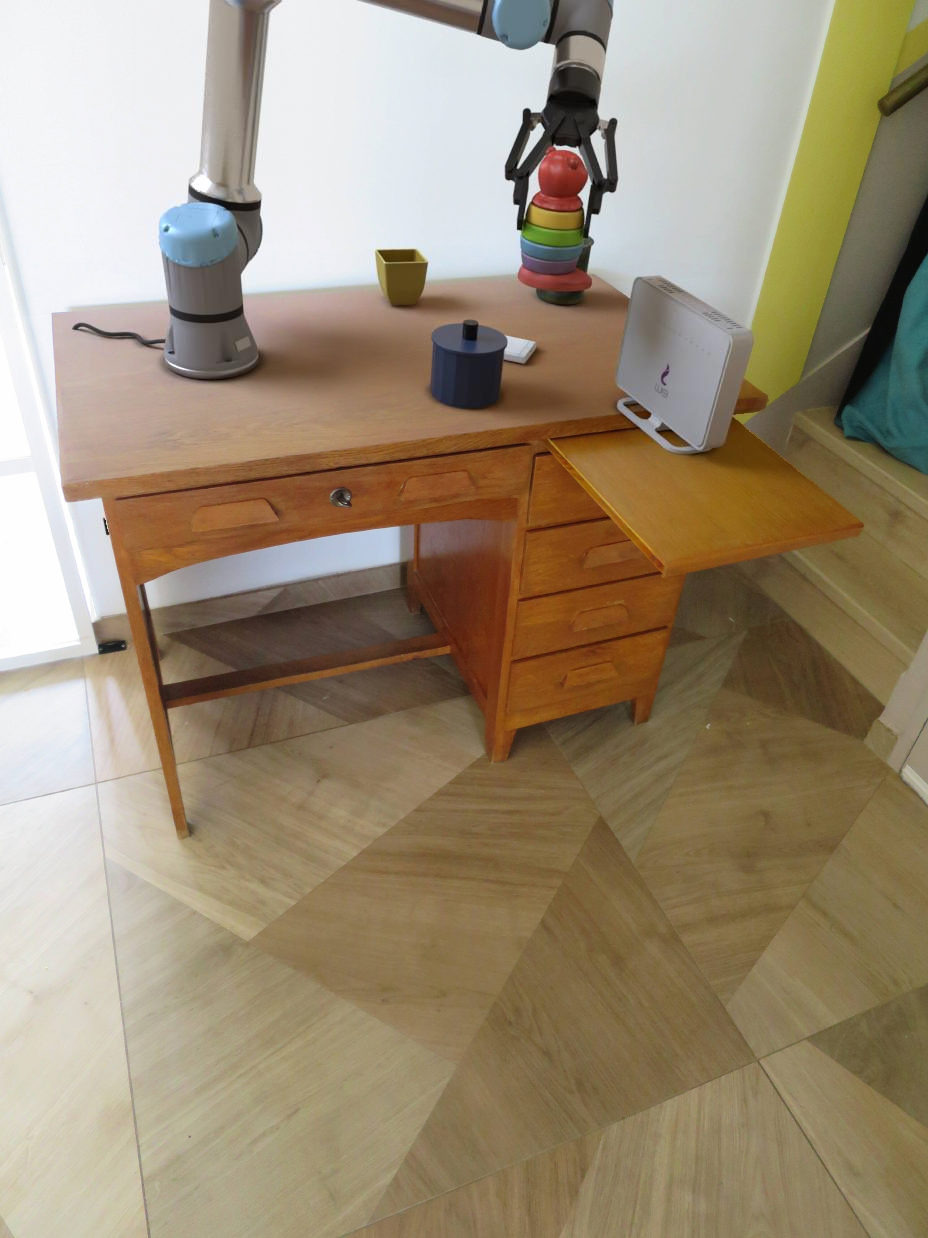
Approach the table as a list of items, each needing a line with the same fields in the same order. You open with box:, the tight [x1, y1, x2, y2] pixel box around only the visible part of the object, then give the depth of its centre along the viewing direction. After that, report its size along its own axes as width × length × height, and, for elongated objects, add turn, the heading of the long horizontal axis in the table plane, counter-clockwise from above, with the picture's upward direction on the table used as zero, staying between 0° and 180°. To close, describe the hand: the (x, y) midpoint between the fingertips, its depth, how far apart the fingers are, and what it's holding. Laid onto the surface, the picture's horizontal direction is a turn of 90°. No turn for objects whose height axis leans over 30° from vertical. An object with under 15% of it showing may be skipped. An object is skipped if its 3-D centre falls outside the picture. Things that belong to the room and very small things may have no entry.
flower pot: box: [374, 248, 429, 306], centre depth 174 cm, size 9×9×9 cm
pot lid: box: [430, 318, 508, 356], centre depth 139 cm, size 12×12×4 cm
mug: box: [535, 235, 595, 306], centre depth 180 cm, size 11×15×12 cm
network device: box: [614, 274, 755, 455], centre depth 136 cm, size 26×9×20 cm, turn 24°
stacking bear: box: [517, 145, 593, 291], centre depth 127 cm, size 11×10×18 cm
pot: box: [429, 342, 505, 410], centre depth 143 cm, size 11×11×9 cm
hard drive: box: [504, 334, 537, 365], centre depth 160 cm, size 2×8×12 cm
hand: (552, 228), depth 125 cm, fingers closed on stacking bear, 9 cm apart
